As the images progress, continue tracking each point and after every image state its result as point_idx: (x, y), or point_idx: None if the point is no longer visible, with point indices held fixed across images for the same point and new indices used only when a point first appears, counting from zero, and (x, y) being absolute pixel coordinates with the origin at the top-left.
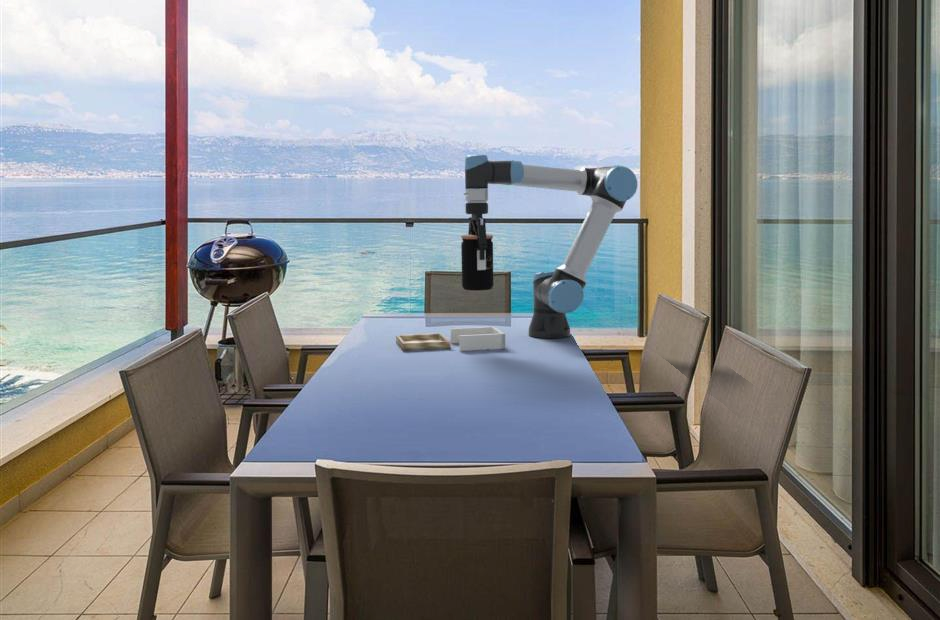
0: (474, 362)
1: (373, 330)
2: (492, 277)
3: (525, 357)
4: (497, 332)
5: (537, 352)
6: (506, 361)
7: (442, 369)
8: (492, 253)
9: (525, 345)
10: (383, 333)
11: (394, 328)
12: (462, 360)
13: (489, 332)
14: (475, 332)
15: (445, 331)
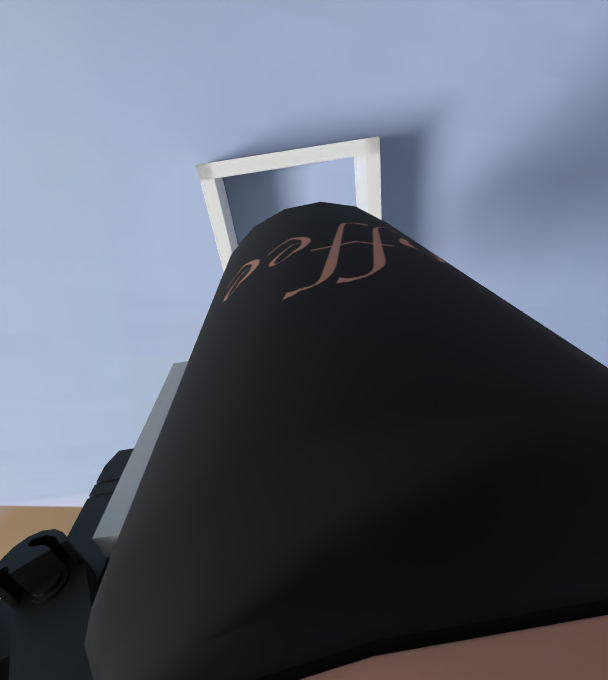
0: (530, 260)
1: (63, 481)
2: (385, 224)
3: (530, 82)
4: (315, 162)
5: (465, 5)
6: (559, 165)
7: (568, 336)
8: (494, 299)
9: (315, 33)
10: (104, 460)
11: (17, 444)
12: (494, 289)
13: (219, 184)
14: (231, 240)
15: (36, 318)
